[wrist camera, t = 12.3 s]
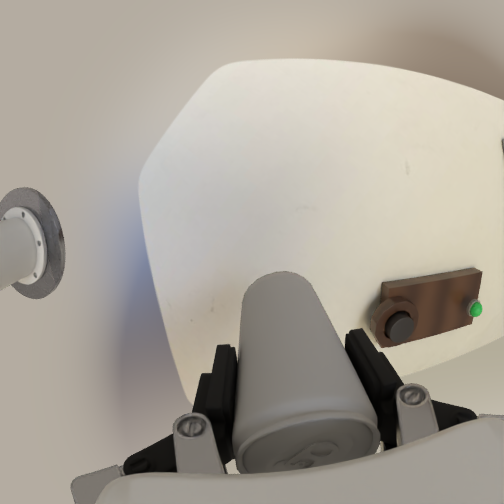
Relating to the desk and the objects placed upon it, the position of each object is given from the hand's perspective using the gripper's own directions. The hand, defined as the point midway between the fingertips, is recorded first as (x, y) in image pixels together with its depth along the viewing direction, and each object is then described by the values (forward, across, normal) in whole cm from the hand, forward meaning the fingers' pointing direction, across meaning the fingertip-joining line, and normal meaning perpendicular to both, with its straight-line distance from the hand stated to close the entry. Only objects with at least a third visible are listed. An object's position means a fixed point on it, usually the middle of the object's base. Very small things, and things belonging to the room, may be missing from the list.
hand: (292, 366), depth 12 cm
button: (+18, -16, +11) cm, 26 cm away
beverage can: (+7, 0, 0) cm, 7 cm away
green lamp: (+18, -30, +11) cm, 36 cm away
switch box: (+22, -22, +11) cm, 33 cm away
